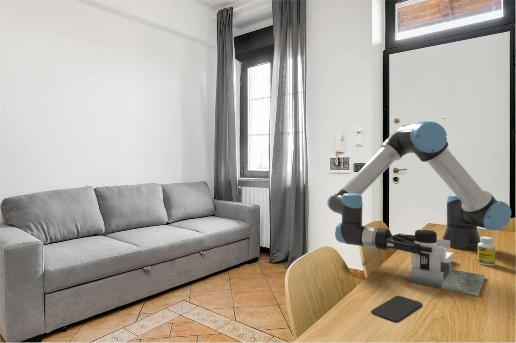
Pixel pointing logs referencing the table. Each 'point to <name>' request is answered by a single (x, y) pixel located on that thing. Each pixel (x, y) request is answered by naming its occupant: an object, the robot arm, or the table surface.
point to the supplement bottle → (486, 251)
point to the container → (426, 259)
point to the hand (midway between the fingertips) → (447, 248)
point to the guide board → (449, 279)
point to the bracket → (447, 256)
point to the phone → (396, 308)
